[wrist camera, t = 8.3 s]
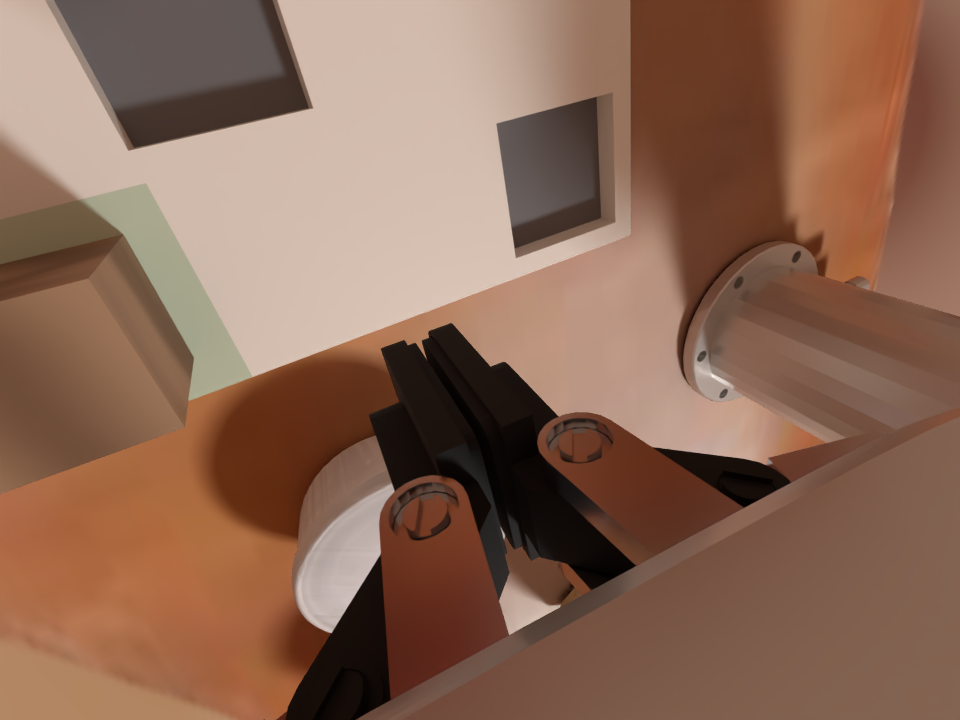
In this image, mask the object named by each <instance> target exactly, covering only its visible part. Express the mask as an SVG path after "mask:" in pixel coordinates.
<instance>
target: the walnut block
mask: <svg viewBox="0 0 960 720" xmlns="http://www.w3.org/2000/svg"><path fill="white" fill-rule="evenodd" d="M193 362H194V357H193V355H192V353H191V352H190V350H189V348H188V346H187V345H186V343H185V341H184V339H183V338H182V336H181V334H180V332H179V331H178V329H177V327H176V325H175V324H174V322H173V320H172V318H171V317H170V315H169V313H168V311H167V310H166V308H165V306H164V304H163V303H162V301H161V299H160V297H159V296H158V294H157V292H156V290H155V289H154V287H153V285H152V283H151V282H150V280H149V278H148V276H147V274H146V273H145V271H144V269H143V267H142V266H141V264H140V262H139V260H138V259H137V257H136V255H135V253H134V252H133V250H132V248H131V246H130V245H129V243H128V241H127V239H126V238H125V236H124V235H119V236H115V237H111V238H107V239H103V240H99V241H95V242H91V243H86V244H82V245H78V246H74V247H70V248H66V249H62V250H58V251H53V252H49V253H45V254H41V255H37V256H33V257H29V258H24V259H20V260H16V261H12V262H8V263H4V264H0V494H2V493H4V492H7V491H10V490H13V489H15V488H18V487H21V486H24V485H26V484H29V483H32V482H35V481H38V480H40V479H43V478H46V477H49V476H51V475H54V474H57V473H60V472H62V471H65V470H68V469H71V468H74V467H76V466H79V465H82V464H85V463H87V462H90V461H93V460H96V459H98V458H101V457H104V456H107V455H110V454H112V453H115V452H118V451H121V450H123V449H126V448H129V447H132V446H134V445H137V444H140V443H143V442H146V441H148V440H151V439H154V438H157V437H159V436H162V435H165V434H168V433H170V432H173V431H176V430H179V429H182V428H184V427H185V421H186V414H187V406H188V399H189V392H190V384H191V377H192V370H193Z"/></svg>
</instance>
